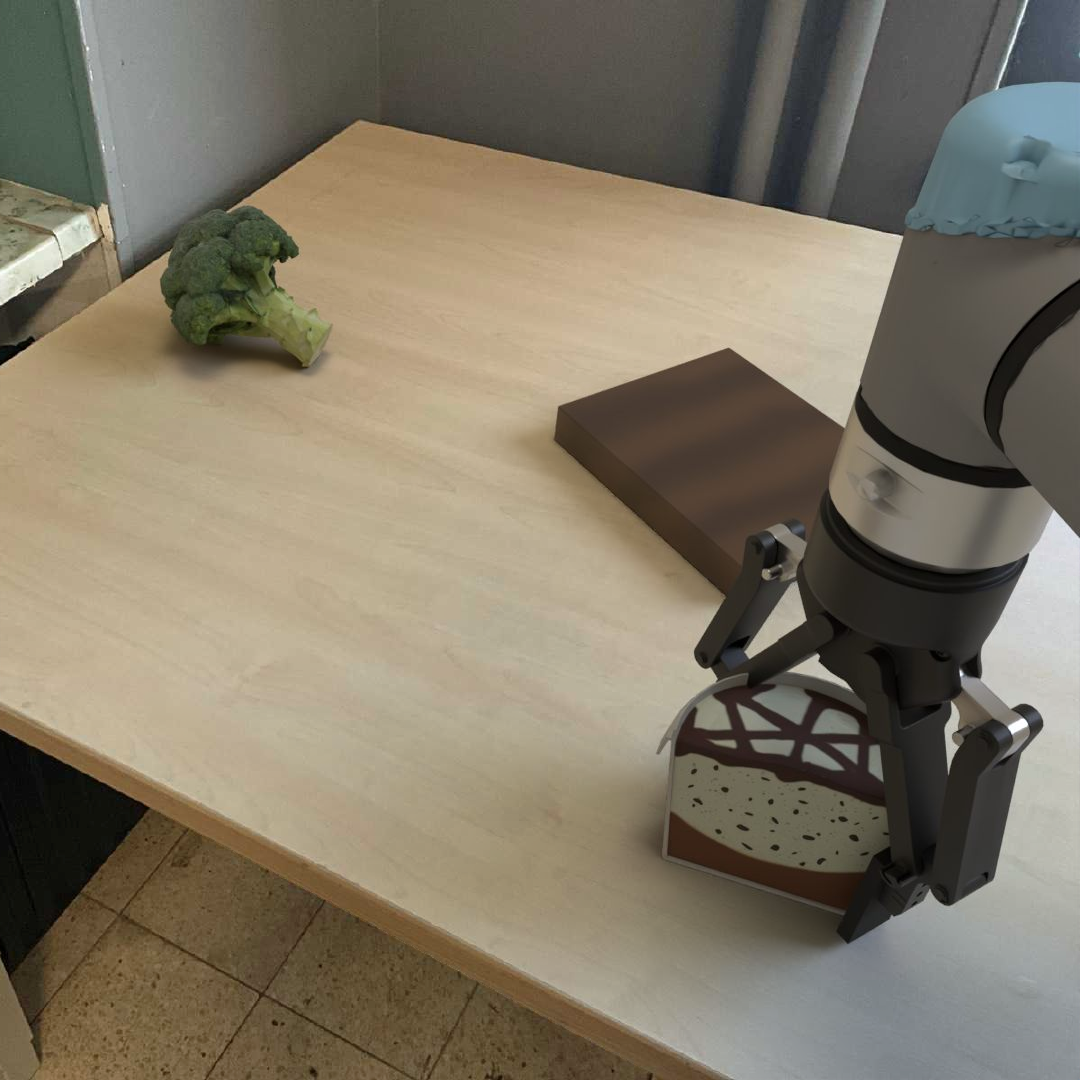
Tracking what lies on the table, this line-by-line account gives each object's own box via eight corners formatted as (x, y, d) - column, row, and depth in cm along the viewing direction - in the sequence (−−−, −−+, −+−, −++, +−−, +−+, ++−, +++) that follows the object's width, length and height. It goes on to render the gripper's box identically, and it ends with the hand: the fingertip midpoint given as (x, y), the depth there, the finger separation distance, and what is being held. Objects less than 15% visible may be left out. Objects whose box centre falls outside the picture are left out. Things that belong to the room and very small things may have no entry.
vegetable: (262, 399, 87) (109, 276, 87) (283, 421, 99) (150, 313, 100) (364, 272, 86) (210, 150, 87) (372, 310, 99) (238, 203, 100)
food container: (893, 828, 60) (955, 703, 54) (885, 928, 56) (951, 807, 50) (656, 759, 64) (686, 634, 57) (632, 849, 60) (662, 726, 53)
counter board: (921, 525, 78) (935, 491, 76) (738, 606, 73) (747, 572, 71) (721, 379, 91) (729, 346, 89) (553, 439, 86) (557, 405, 84)
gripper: (665, 398, 50) (602, 730, 65) (1118, 753, 36) (903, 1074, 51) (797, 351, 52) (707, 681, 68) (1270, 665, 38) (1022, 995, 53)
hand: (791, 849), depth 59 cm, fingers closed on food container, 9 cm apart
